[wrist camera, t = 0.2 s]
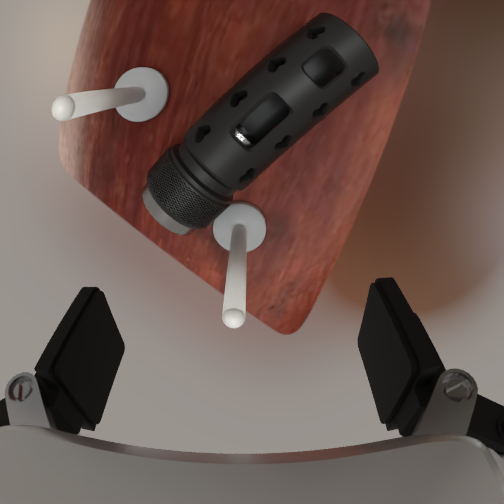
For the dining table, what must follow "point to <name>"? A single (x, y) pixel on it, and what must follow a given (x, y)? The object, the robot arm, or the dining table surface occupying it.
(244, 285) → the cord post
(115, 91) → the post
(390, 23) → the dining table surface
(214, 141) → the muzzle brake
